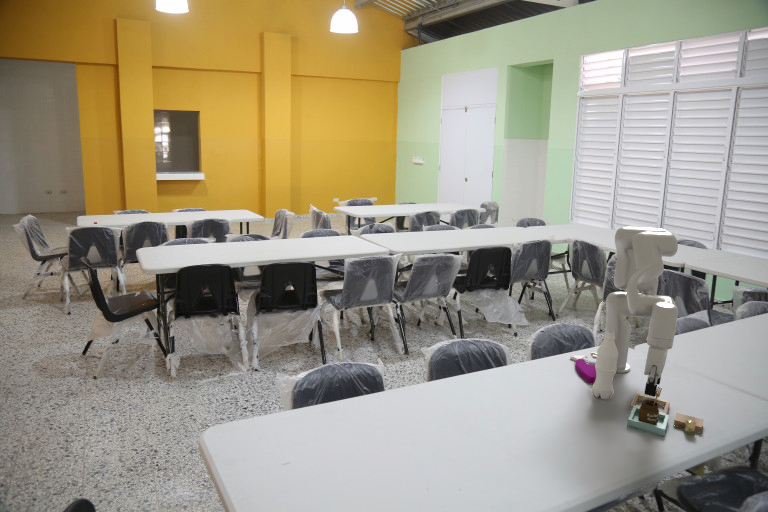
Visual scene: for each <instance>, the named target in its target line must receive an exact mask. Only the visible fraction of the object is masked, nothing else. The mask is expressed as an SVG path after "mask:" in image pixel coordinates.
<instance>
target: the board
mask: <svg viewBox="0 0 768 512" xmlns="http://www.w3.org/2000/svg"><path fill="white" fill-rule="evenodd" d="M686 419H692V420H694V421H695V422H696V426H695V432H694V433H698V432H699V433H698V434H702V430H703V425H704V419H702V418H698V417H695V416H691V415H688V414H683V413H679V412H676V414H675V418H674V422H673V426H674V425H675V426H674V427H676V426H678V427H677V428H680V427H681V428H680V429H683V428H684V427H685V421H686Z"/></svg>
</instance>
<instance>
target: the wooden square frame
mask: <svg viewBox="0 0 768 512" xmlns="http://www.w3.org/2000/svg"><path fill="white" fill-rule="evenodd" d="M644 395H645V394H641V393H635V396H634V398H633V400H632V402H631V405H630V409H629V410H630V412H631V411H632V409H633V407H634V406H636V407H640V406H641V405H640V406H639V405H637V404H638V402H642V401H643V400H645V399H650V400H653V401H655V399H656V397H653V396H649V395H645V396H644ZM639 400H640V401H639ZM656 402H657V403H658V404H659V405H660V406H659V407H663V406H664V407H663V408H664V409H663V411H659V413H662V414H666V415H668V413H667V412H669V409H670V405H671V401H668V400H664V399H661V398H657V400H656Z"/></svg>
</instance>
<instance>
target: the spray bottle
mask: <svg viewBox="0 0 768 512" xmlns="http://www.w3.org/2000/svg"><path fill="white" fill-rule="evenodd" d="M569 358H570V360H572V361H575V369H576V371H577V373H578V374H579V376H580V377H581V378H582V379H583V380H584V381H585V382H587V383H588V384H591V385H593V384H594V383H595V380H596V368H595V364H590V363H587V362H591V360H589V359H588V355H571V356H570V357H569Z"/></svg>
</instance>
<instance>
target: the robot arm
mask: <svg viewBox="0 0 768 512" xmlns="http://www.w3.org/2000/svg"><path fill="white" fill-rule="evenodd" d="M614 246H615V248H616V259H615V260H616V261H615V268H614V273H613V285H614V287H615V288H616V289H617V290H618V289H619V290H623V291H614V292H610V293H608V295H606V296H607V297H606V299H605V302H606V303H605V307H606V318H605V319H606V321H605V329H604V336H605V334H606V330H613V331H615V335H614V336H615V339H614V342H615V345H616V347H617V350H618V359H617V367H616V368H617V370H616V373H615V374H624V373H629V371H630V370H631V365H630V364H629V363H628V354H629V347H630V339H631V334H632V333H631V332H632V326H631V323H630V322H629V320H628V319H627V317H633V318H650V319H649V325H648V330H647V338H646V344H647V345H648V346H649V347H648V350H647V357H646V359H645V360H646V362H645V367H644V371H643V375H644V376H647V379H646V382H645V388H644V395H645V396H649V397H653V398H656V391H657V388H658V385H660V384H661V378H662V374H663V372H664V368H665V365H666V361H667V356H668V351H669V350H671V349H673V346H674V340H675V335H676V327H677V321H678V316H679V308H678V306H677V305H676V301H675V300H674V298H673V297H671V296H669V295H661V294H657V292H658V287H659V277H660V276H661V275H662V274H663V273H664V271H665V268H664V262H663V258H662V257H668V258H670V257H675V255H676V253H677V252H678V248H679V245H678V239H677V238H676V236H675V234H673V232H670V231H668V230H666V229H664V228H656V227H641V226H640V227H639V226H623V227H619V228H618V229H617V230H616V231H615V235H614ZM604 336H603V337H604ZM604 339H605V337H604V338H603V340H604ZM590 357H592V359H594V360H595V359H596V358H597V351H596V352H595V351H591V352H590Z"/></svg>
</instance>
